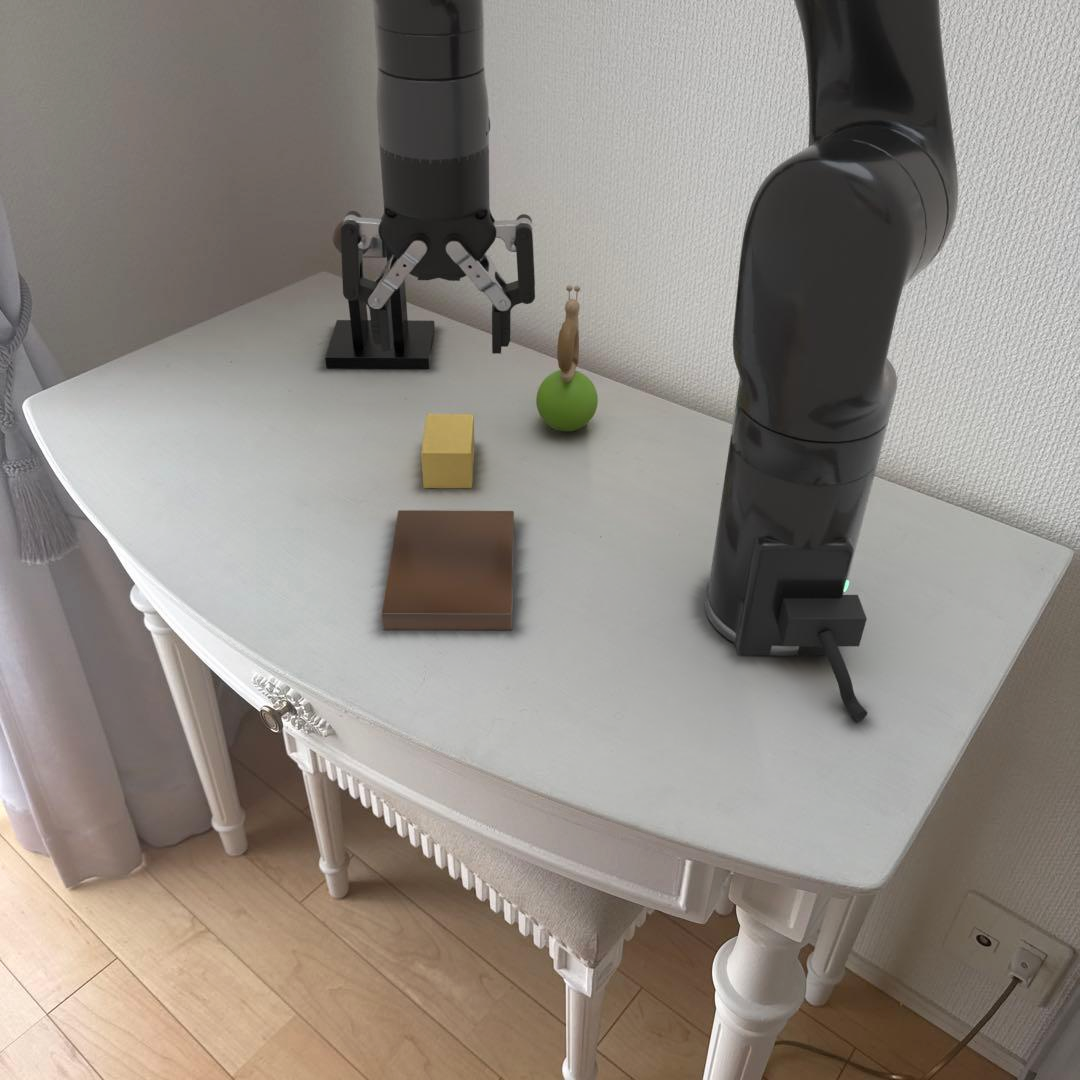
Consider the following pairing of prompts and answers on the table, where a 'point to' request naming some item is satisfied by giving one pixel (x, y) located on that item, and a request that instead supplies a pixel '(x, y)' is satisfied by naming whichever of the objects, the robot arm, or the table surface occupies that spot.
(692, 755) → the table surface
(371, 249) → the brown knob lever
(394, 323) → the slicer bracket
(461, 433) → the butter
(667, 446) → the table surface
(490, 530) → the board
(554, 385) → the snail figurine
